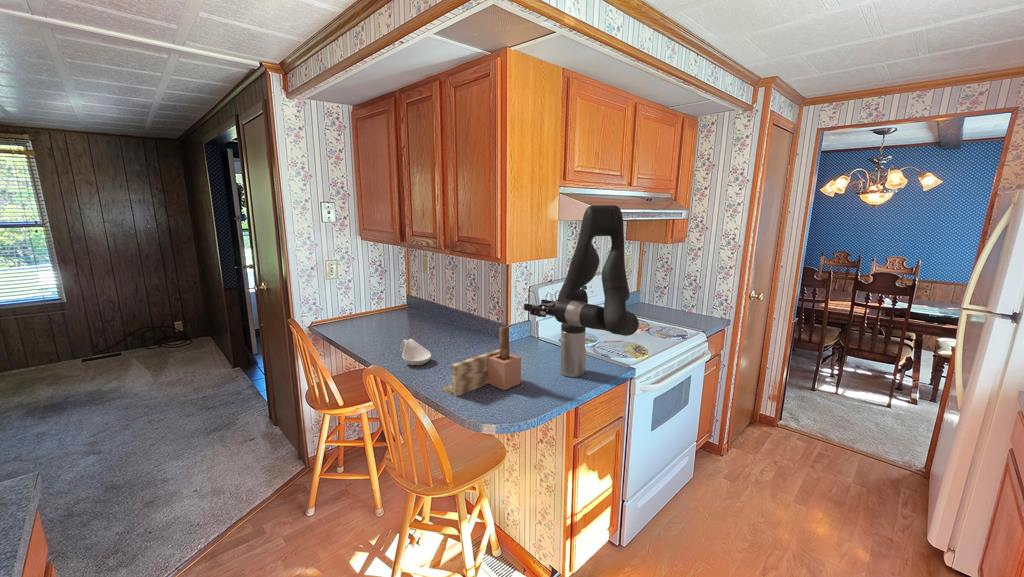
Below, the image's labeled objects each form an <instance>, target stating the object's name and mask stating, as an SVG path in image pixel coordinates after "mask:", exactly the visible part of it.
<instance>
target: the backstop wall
mask: <svg viewBox="0 0 1024 577" xmlns="http://www.w3.org/2000/svg"><path fill="white" fill-rule="evenodd" d="M499 353H500V348H499V349H495V350H492V351H489V352H486V353H483V354H479V355H477V356H474V357H470V358H468V359H465V360H462V361H461V360H460V361H459V362H455V363H452V364H451V365H450V366H451V384H449V385H447V386H444V387H442V390H443V391H444V392H445V393H446V394H449V395H451V396H453V397H458V396H462V395H464V394H466V393H469V392H472V391H474V390H476V389H479V388H481V387H483V386H484V387H485V386H486V385H489V384H488V357H491V356H494V355H496V354H499Z"/></svg>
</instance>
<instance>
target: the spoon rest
mask: <svg viewBox="0 0 1024 577" xmlns="http://www.w3.org/2000/svg"><path fill="white" fill-rule="evenodd" d="M399 351H400V352H402V354H401V356H402V359H403V361H404V362H405V363H406V364H407V365H410V366H414V365H417V366H422V365H425V364H426V363H428V362H429V361H430V359H431V358H432V353H431V352H430V351H429V350H428V349H426V348H425V347H424V346H422V345H421V344H419V343H418V342H417V341H416V340H414V339H412V338H409V339H403V341H402V342H401V344H400V350H399Z"/></svg>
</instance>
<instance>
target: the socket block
mask: <svg viewBox="0 0 1024 577" xmlns="http://www.w3.org/2000/svg"><path fill="white" fill-rule="evenodd" d="M521 383H522V356H519V355H515V354H512V353H509V359H508V360H505V361H504V360H501V359H500V353H499V354H496V355H494V356H491V357H488V384H487V385H490V386H493V387H494V388H499V389H501V390H503V391H506V390H509V389H511V388H513V387H515V386H517V385H521Z"/></svg>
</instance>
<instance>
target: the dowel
mask: <svg viewBox="0 0 1024 577" xmlns="http://www.w3.org/2000/svg"><path fill="white" fill-rule="evenodd" d="M498 329H499V330H498V332H499V334H498V336H499V340H498V342H499V349H500V359H501V360H504V361H505V360H508V359H509V354H510V327H509V326H500V327H499V328H498Z"/></svg>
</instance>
